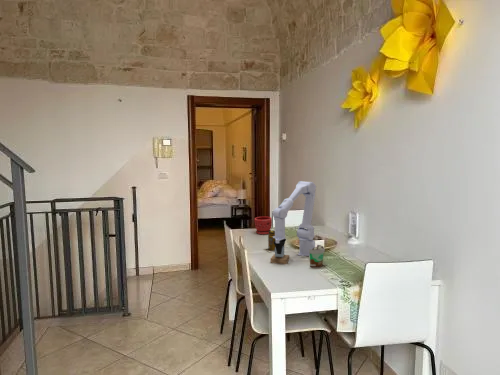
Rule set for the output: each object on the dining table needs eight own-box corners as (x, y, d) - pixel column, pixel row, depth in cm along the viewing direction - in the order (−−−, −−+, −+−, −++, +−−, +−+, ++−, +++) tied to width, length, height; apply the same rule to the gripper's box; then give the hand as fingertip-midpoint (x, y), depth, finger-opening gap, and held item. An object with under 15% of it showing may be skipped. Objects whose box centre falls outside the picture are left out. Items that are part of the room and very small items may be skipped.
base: (289, 259, 211) (289, 255, 211) (286, 264, 203) (286, 259, 202) (274, 258, 214) (274, 254, 213) (270, 262, 205) (270, 258, 205)
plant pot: (260, 230, 288) (260, 215, 287) (275, 232, 280) (275, 217, 279) (251, 234, 277) (251, 218, 276) (265, 236, 270) (265, 220, 268)
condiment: (280, 250, 231) (280, 231, 230) (269, 252, 227) (269, 233, 225) (273, 247, 237) (273, 229, 236) (263, 249, 233) (262, 231, 231)
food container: (319, 269, 192) (319, 251, 191) (308, 267, 195) (309, 249, 194) (328, 263, 203) (328, 245, 202) (317, 261, 206) (317, 244, 205)
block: (284, 254, 209) (284, 246, 209) (282, 257, 205) (282, 248, 205) (276, 254, 211) (276, 245, 210) (274, 256, 207) (274, 247, 206)
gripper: (275, 226, 214) (276, 248, 216) (270, 231, 201) (270, 255, 202) (287, 226, 212) (287, 249, 214) (282, 232, 199) (282, 256, 200)
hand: (280, 252), depth 208 cm, fingers closed on block, 4 cm apart
